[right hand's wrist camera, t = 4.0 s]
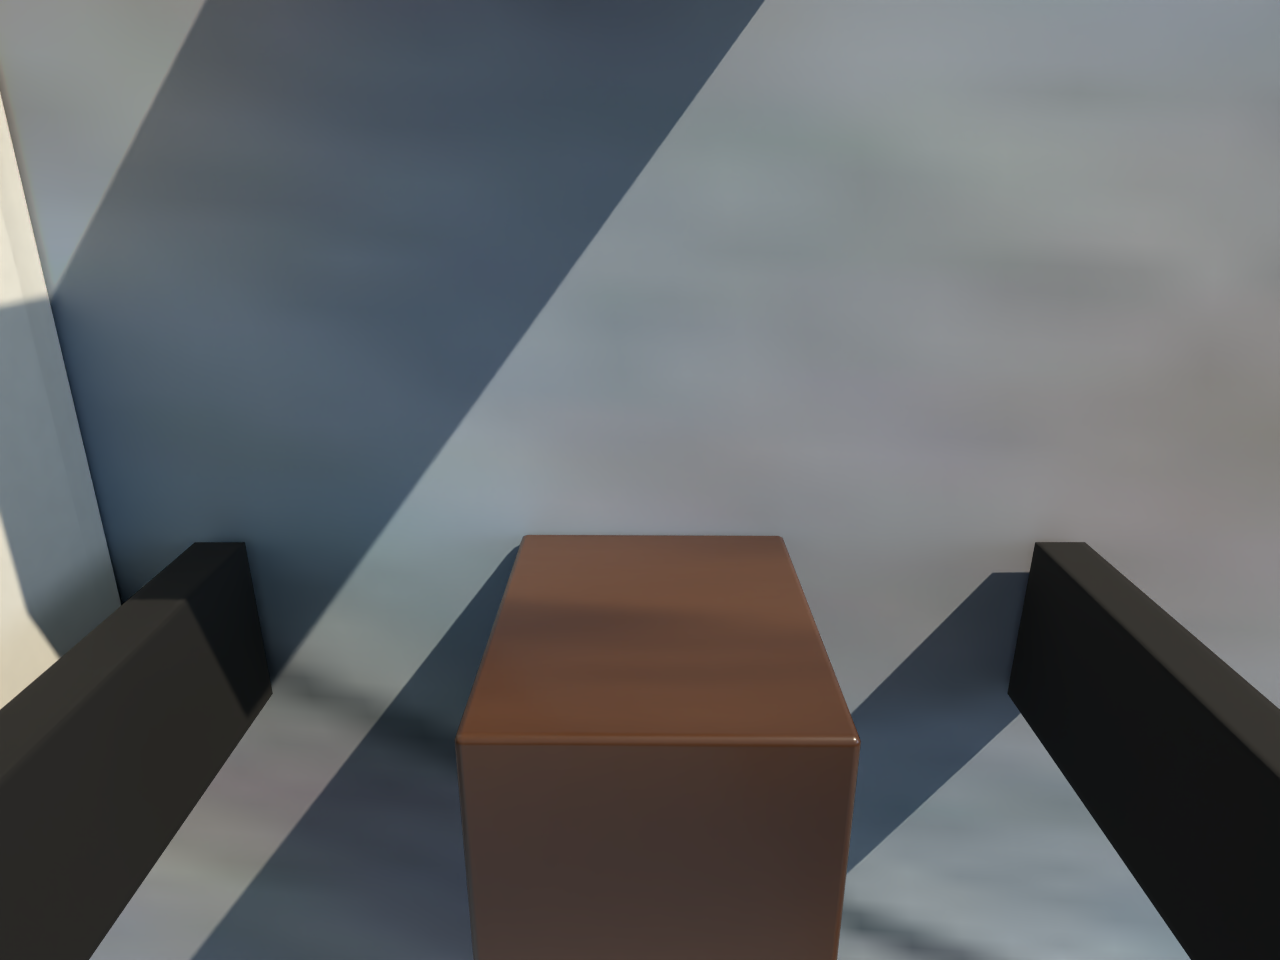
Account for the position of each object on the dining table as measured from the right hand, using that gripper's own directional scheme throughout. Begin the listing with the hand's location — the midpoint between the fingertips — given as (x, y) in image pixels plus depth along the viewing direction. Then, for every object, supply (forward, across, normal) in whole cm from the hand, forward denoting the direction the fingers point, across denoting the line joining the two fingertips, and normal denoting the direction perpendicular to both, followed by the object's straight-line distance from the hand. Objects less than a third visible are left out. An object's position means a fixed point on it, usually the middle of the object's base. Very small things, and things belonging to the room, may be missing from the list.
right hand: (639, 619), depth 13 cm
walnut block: (0, 0, +1) cm, 1 cm away
